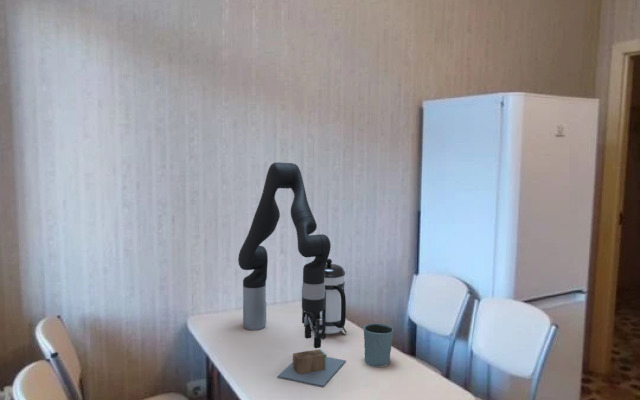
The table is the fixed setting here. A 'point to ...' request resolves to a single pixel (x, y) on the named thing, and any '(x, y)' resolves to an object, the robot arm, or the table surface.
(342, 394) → the table surface
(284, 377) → the mat
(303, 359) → the walnut block
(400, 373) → the table surface
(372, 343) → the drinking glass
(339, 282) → the coffee press
